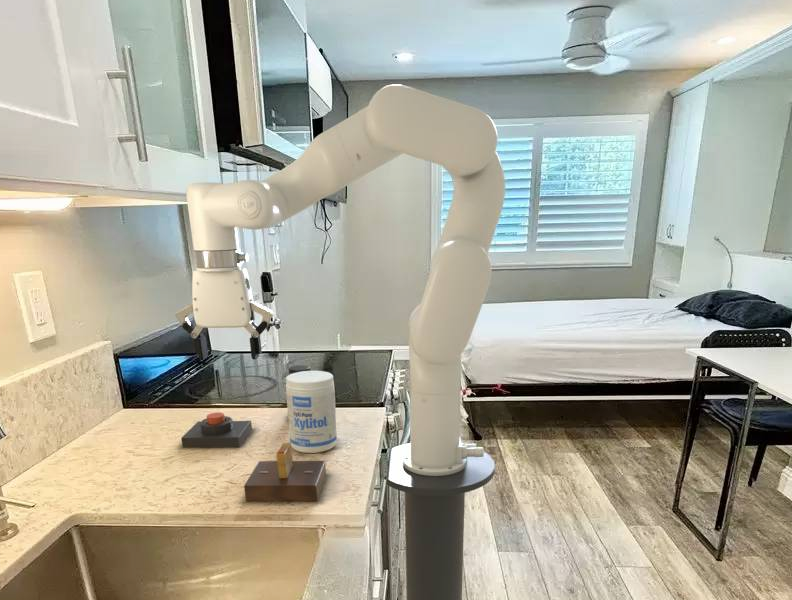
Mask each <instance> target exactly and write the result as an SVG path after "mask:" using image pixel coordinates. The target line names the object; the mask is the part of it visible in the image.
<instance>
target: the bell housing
mask: <svg viewBox="0 0 792 600" xmlns="http://www.w3.org/2000/svg"><path fill="white" fill-rule="evenodd" d="M224 417H225V422H224V423H221V424H215V425H210V424H208V423H207V417H206V418H204V419H202V420H201V421H197V422H196V423H194V425H193V426H192V427H190V428H189V430H188V431H186V432H185V433H184V434H183V435H182V436H181V438H180V440H181V447H182V448H185V449H186V448H190V449H192V448H241V446H242V445H243V443H244V442H245V440H246V439H247V438H248V437H249V435H250V434H251V433H252V431H253V425H252V424H253V423H252V420H233V418H232V417H231V416H226V415H224Z"/></svg>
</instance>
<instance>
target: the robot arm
mask: <svg viewBox="0 0 792 600" xmlns="http://www.w3.org/2000/svg"><path fill="white" fill-rule="evenodd" d="M498 139H499V138H498V131H497V128H496V124H495V123H494V121H493V120H492V118H491V117H490V116H489V115H488V114H487V113H485V112H484V111H483V110H481V109H479V108H477V107H474V106H471V105H468V104H465V103H462V102H459V101H455V100H452V99H449V98H445V97H442V96H439V95H436V94H434V93H430V92H427V91H424V90H421V89H417V88H414V87H411V86H408V85H403V84H394V83H393V84H389V85H386V86H384V87H382V88H380V89H379V90H377V91H376V92H375V93H374V94H373V96H372V98H371V99H370V101H369V103H368V105H367V106H365V107H363V108H361V109H360V110H359V111H357V112H356V113H354V114H352V115H350V116H349V117H347V118H346V119H344V120H342V121H340V122H338V123H337V124H335V125H333V126H332V127H330V128H328V129H326V130H325V131H323V132H321V133H319V134H318V135H317V136H315V137H314V138H313V139H312V140H311V142H309V144H308V145H307V147H306V149H304V151H303V152H302V154H301V155H300V156H299V157H298V158H296V159H295V160H294V161H292V162H291V163H290V164H288V165H287V166H285V167H283V168H282V169H281V170H278V171H277V172H275V173H273V174H272V175H270V176H268V177H267V178H265V179H263V180H256V179H245V180H238V181H234V182H226V183H223V182H195V183H191V184H189V185H188V186H187V188H186V192H185V195H186V203H187V211H188V219H189V225H190V232H191V239H192V240H191V241H192V246H193V255H194V261H195V262H194V263H195V268H196V269H193V270H192V279H191V280H192V281H191V298H192V299H191V301H192V303H191V304H189V305H188V306H186V307H184V308H182V309H180V310H179V311H178V312H175V317H176V319H177V320H178V322H179V324H181V326H182V329H183V330H184V331H185V332H186V333H188V334H189V335H190V337H191V338H192V339H193V341H194V349H195V354H196V355H198V359H199V361H203V360H205V359H207V357H208V358H209V351H208V350H209V349H208V344H207V337H206V335H205V334H204V332H205V330H206V329H222V328H223V329H225V328H228V329H230V328H231V329H233V328H244V329H245V330H246V331H247V332H248V333H249V334H250V336H251V337H250V338H249V344H250V345H249V347H250V355H251V356H250V357H251V359H252V360H257V359H258V358H259V357H260V355H261V354H262V342H261V341H262V340H261V334H262V333H264V331H265V330H266V329H267V328H268V327H269V325H270V322H271V320H272V318H273V315H274V312H273V310H272V309H269V308H267V307H266V306H263V305H262V304H259V303H257V302H255V301H254V295H253V292H252V287H251V282H250V278H249V274H248V270H247V268H246V267H242V264H243V263H244V262H245V263H246V262H247V263H248V262H249V255H248V253H244V252H241V249H240V246H239V236H238V228H239V229H245V230H246V229H247V230H263V229H270V228H273V227H276V226H278V225H280V224H282V223H283V222H285V221H287V220H289V219H291V218H292V217H295V216H296V215H297V214H299V213H301V212H302V211H305V210H306V209H308V208H309V207H312V206H313V205H315V204H316V203H317V202H319V201H322V200H323V199H325V198H328V197H329V196H332V195H334V194H336V193H337V192H339V191H340V190H342V189H344V188H345V187H347V186H349V185H350V184H353V183H354V182H356V181H357V180H359V179H361V178H362V177H364V176H366V175H367V174H369V173H372V172H373V171H375V170H377V169H378V168H380V167H382V166H384V165H386V164H387V163H389V162H391V161H393V160H395V159H397V158H398V157H400V156H402V155H403V154H405V155H408V156H411V157H414V158H417V159H419V160H423V161H425V162H429V163H432V164H436V165H440V166H442V168H443V169H444V170H445V171H446V172H447V173H448V174H449V175H450V178H451V180H452V186H453V194H452V197H451V202H450V205H449V207H448V208H449V209H448V211H447V215H446V219H445V222H444V225H443V228H442V230H441V233H440V236H439V240H438V242H437V245H436V247H435V250H434V251H433V254H432V256H431V258H430V262H429V277H428V279H427V282H426V286H425V289H424V292H423V295H422V298H421V300H420V303H419V304H418V305H417V306H415V308H414V309H413V310H412V312H411V314H410V317H409V319H408V326H407V328H408V329H407V330H408V331H407V335H408V337H407V338H408V352H409V353H408V358H409V359H408V360H409V426H410V427H409V435H410V436H409V438H410V439H409V440H410V441H409V443H410V451H409V452H407V453H406V454H405V455H404V456H403V465H404V467H405V468H406V469H408V470H409V471H411V472H413V473H416V474H420V475H425V476H445V475H451V474H455V473H457V472H460V471H461V470H463V469H464V468H465V467H466V465H467V457H483V456H484V452H485V449H484V446H483V447H482V446H477V444H476V443H464V442H462V440H461V435H460V433H461V432H460V431H461V429H460V428H461V390H462V389H461V388H462V353H463V352H464V351H465V350H466V348H467V345H468V343H469V341H470V339H471V336H472V334H473V330H474V328H475V325H476V323H477V320H478V317H479V315H480V313H481V310H482V308H483V304H484V302H485V299H486V296H487V294H488V290H489V287H490V283H491V279H492V269H493V268H492V263H491V259H490V256H489V255H488V254H489V251H490V248H491V245H492V243H493V240H494V237H495V233H496V231H497V227H498V223H499V221H500V218H501V215H502V211H503V208H504V203H505V199H506V198H505V197H506V179H505V174H504V169H503V165H502V162H501V159H500V157H499V154H498V152H497V147H498ZM190 314H193V317H194V319H193V320H194V322H195V324H196V325H194V324H193V323H192V322H191V321H190V319H189V318H188V317H189V316H188V315H190ZM256 314H259V315H260V316H262V319H261V322H260V323H259V324H257V323H256V322H255V320H256Z"/></svg>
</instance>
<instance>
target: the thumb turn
mask: <svg viewBox="0 0 792 600" xmlns="http://www.w3.org/2000/svg"><path fill="white" fill-rule="evenodd" d="M292 452H293V451H292V446H291V443H290V442H282V444H281V445H280V447H279V449H278V450H277V452H276V461H277V464H278V473H279V478H287V477H288V475H289V473H290V471H291V469H292V467H293V461H294V460H293V453H292Z"/></svg>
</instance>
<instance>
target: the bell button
mask: <svg viewBox="0 0 792 600" xmlns="http://www.w3.org/2000/svg"><path fill="white" fill-rule="evenodd" d="M224 416H225V414H224V413H223V412H211V413H209V414H207V415H206V418H207V423H208V424H210V425H215V424H221V423H224V422H225V417H224Z"/></svg>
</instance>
